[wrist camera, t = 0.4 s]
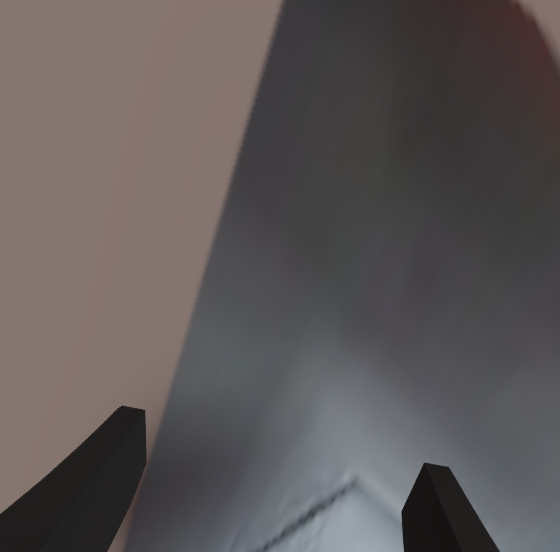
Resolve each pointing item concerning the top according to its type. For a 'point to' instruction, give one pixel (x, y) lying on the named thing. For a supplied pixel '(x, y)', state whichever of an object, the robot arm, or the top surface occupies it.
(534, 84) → the top surface
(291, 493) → the top surface
